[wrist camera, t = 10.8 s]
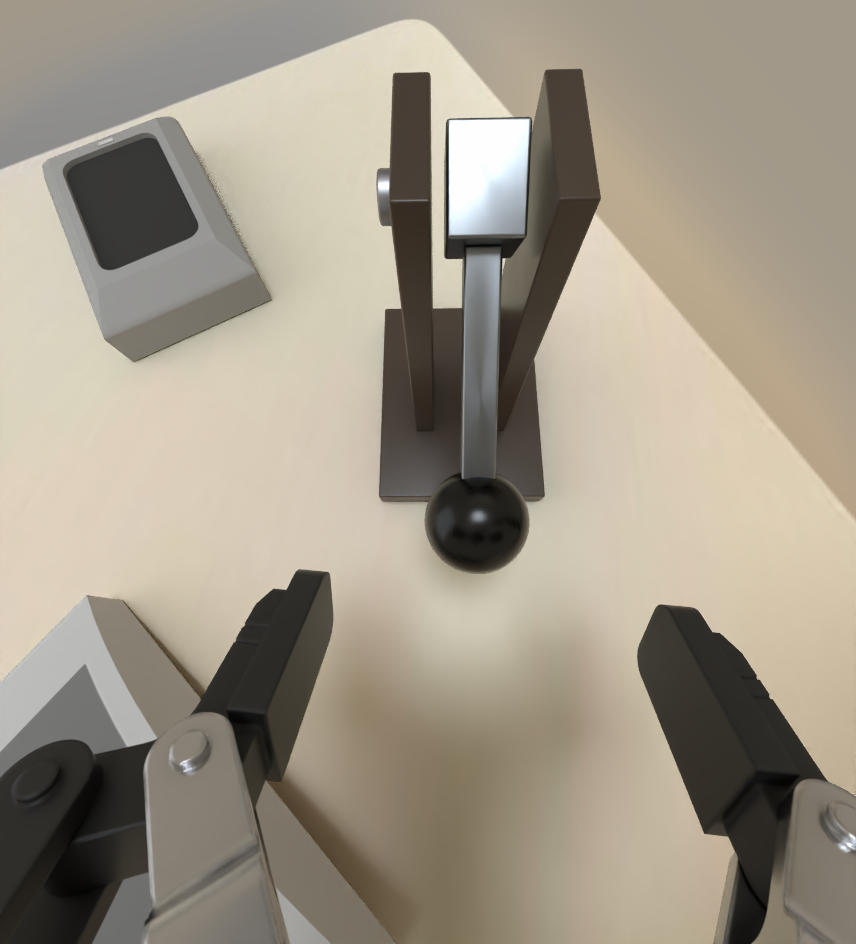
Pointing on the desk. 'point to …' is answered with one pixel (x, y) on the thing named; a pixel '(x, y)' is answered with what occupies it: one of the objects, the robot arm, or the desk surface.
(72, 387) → the desk surface
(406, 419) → the latch bracket
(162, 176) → the grey flat block
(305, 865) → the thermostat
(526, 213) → the latch lever
